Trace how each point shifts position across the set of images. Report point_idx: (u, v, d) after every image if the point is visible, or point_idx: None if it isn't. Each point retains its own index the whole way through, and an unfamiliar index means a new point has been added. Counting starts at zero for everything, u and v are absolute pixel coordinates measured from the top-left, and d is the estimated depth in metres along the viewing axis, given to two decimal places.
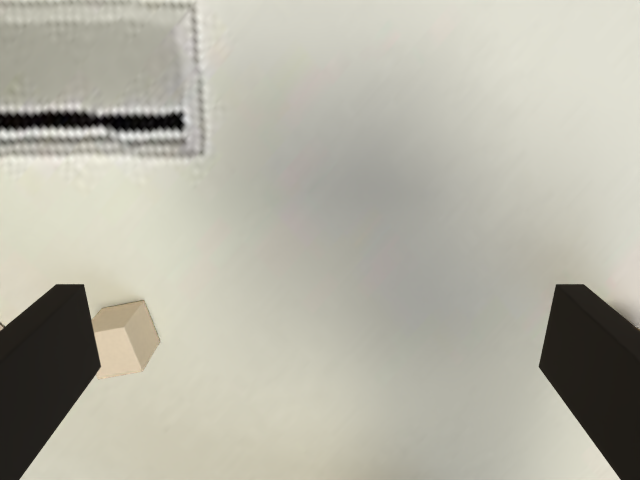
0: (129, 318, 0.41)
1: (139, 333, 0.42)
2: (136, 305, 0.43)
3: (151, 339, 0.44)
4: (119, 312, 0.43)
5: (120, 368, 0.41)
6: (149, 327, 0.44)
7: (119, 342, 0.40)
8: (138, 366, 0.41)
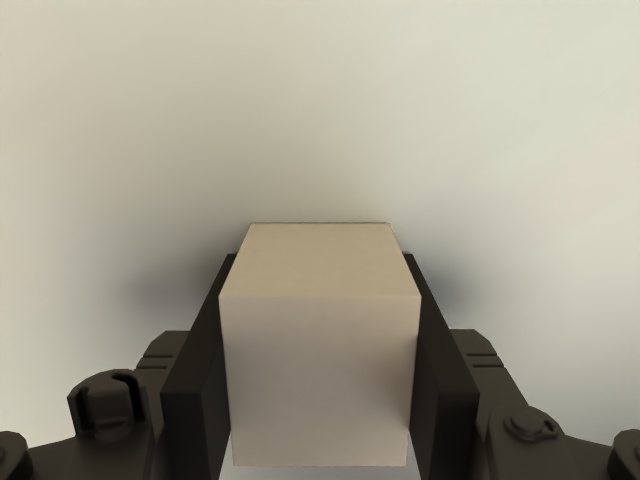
0: (407, 267, 0.11)
1: None
2: (378, 231, 0.13)
3: None
4: (332, 242, 0.13)
5: (331, 444, 0.11)
6: None
7: (375, 352, 0.10)
8: (399, 448, 0.11)
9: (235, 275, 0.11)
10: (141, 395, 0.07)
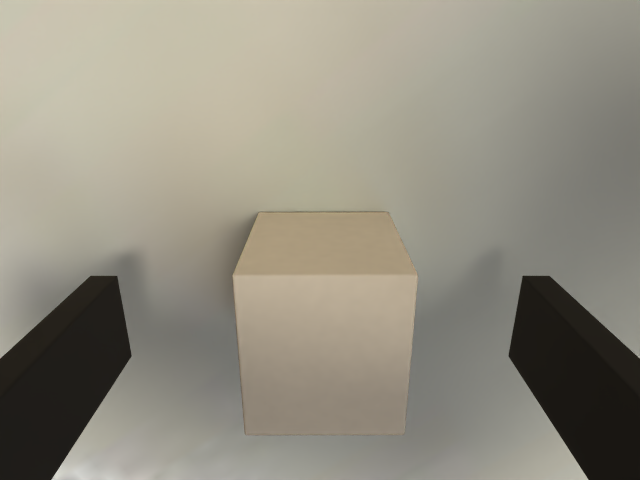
0: (405, 250, 0.12)
1: None
2: (378, 219, 0.14)
3: None
4: (336, 229, 0.13)
5: (335, 414, 0.12)
6: None
7: (376, 327, 0.11)
8: (398, 418, 0.12)
9: (246, 257, 0.11)
10: None
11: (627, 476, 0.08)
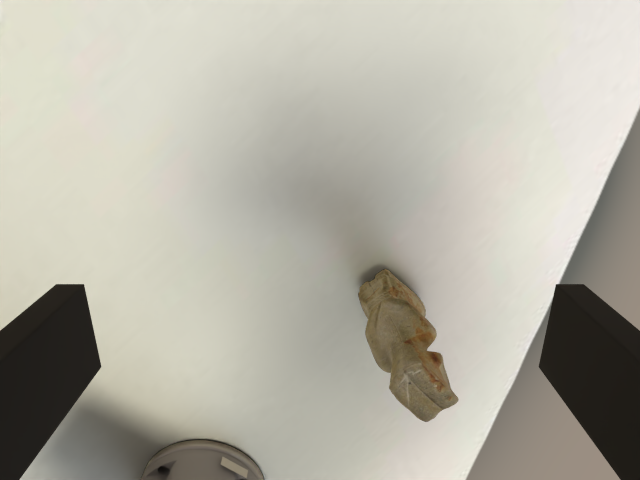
0: None
1: None
2: None
3: None
4: None
5: None
6: None
7: None
8: None
9: None
10: None
11: None
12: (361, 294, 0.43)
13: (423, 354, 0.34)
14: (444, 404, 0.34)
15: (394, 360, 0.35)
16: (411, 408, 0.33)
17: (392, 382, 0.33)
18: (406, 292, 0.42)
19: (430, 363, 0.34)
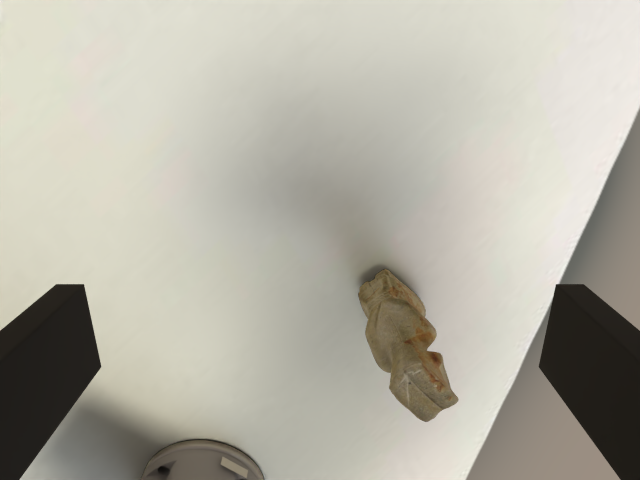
0: None
1: None
2: None
3: None
4: None
5: None
6: None
7: None
8: None
9: None
10: None
11: None
12: (361, 294, 0.43)
13: (423, 354, 0.34)
14: (444, 404, 0.34)
15: (394, 360, 0.35)
16: (411, 408, 0.33)
17: (392, 382, 0.33)
18: (406, 292, 0.42)
19: (430, 363, 0.34)
